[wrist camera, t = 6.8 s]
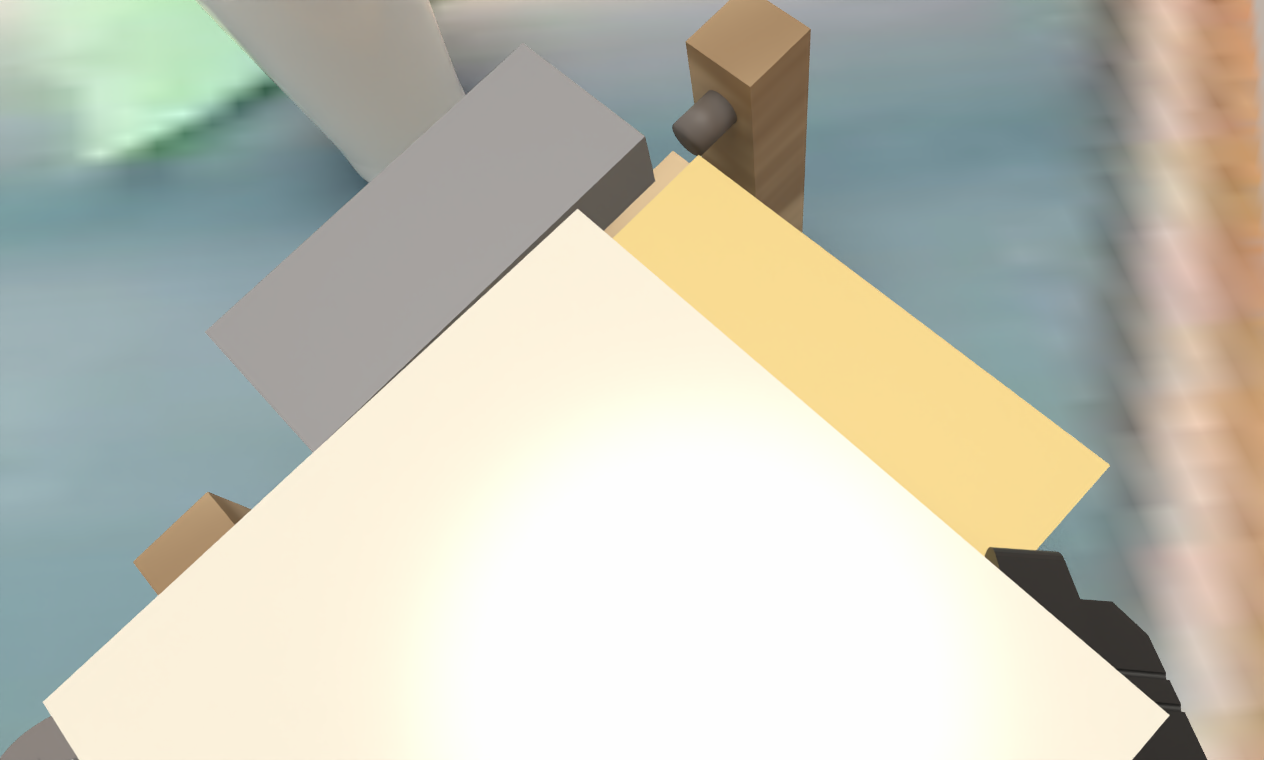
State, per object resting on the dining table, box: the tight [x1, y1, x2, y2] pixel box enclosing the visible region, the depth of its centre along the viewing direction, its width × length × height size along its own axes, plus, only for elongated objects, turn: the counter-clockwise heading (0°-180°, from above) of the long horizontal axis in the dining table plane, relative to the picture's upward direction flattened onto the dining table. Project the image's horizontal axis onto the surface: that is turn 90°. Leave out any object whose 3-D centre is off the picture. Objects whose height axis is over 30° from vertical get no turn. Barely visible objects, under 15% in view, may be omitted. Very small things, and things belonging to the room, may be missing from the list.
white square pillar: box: [43, 209, 1169, 760], centre depth 10 cm, size 5×5×10 cm
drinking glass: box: [195, 0, 466, 183], centre depth 32 cm, size 7×7×15 cm
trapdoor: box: [205, 43, 1110, 557], centre depth 21 cm, size 17×11×2 cm
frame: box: [133, 0, 811, 595], centre depth 28 cm, size 7×20×14 cm, turn 135°
